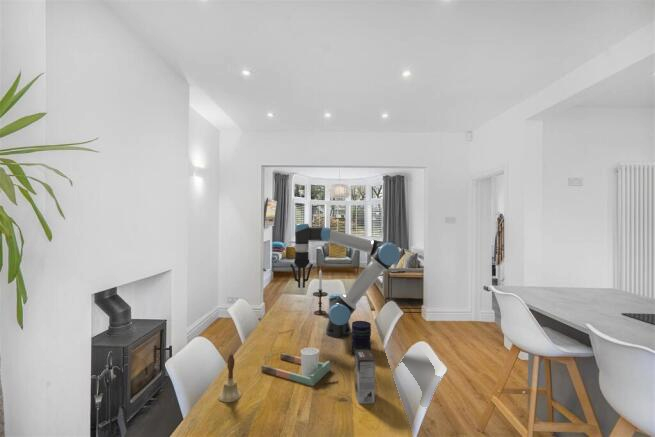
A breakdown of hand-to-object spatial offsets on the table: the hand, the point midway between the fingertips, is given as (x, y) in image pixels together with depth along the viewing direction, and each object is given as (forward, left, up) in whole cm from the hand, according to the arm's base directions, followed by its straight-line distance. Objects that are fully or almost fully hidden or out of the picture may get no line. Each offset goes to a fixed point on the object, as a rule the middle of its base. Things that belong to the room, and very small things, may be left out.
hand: (301, 293), depth 174 cm
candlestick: (-12, -52, -27) cm, 60 cm away
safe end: (-5, +38, -26) cm, 47 cm away
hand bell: (+25, +54, -27) cm, 65 cm away
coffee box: (-26, +56, -27) cm, 67 cm away
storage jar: (-31, +17, -27) cm, 44 cm away
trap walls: (+2, +34, -26) cm, 43 cm away
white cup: (-5, +37, -27) cm, 46 cm away
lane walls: (+9, +30, -26) cm, 41 cm away
